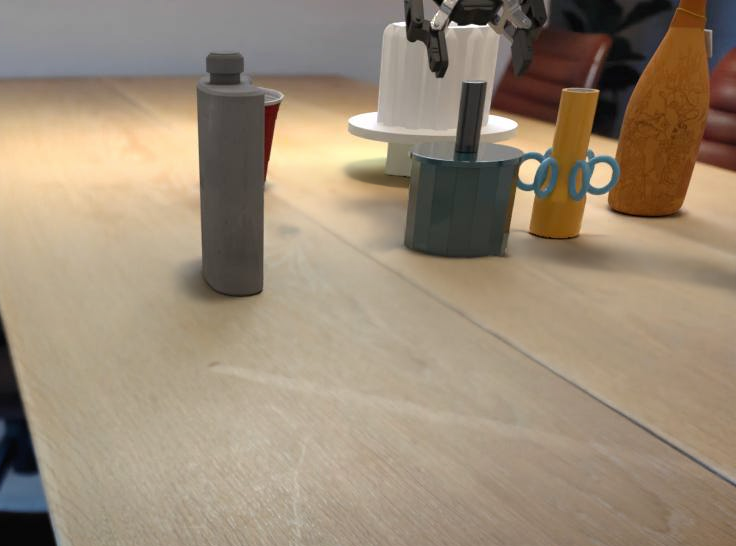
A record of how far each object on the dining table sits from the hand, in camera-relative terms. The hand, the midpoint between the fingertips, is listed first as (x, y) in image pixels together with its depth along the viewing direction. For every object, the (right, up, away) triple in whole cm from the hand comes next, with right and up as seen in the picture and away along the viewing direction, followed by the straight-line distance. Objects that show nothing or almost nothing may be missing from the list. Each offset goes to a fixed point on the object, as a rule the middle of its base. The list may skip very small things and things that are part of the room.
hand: (483, 71), depth 93 cm
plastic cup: (-25, +7, +39) cm, 47 cm away
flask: (-26, -20, +4) cm, 33 cm away
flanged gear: (+3, +14, +47) cm, 49 cm away
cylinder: (+13, -9, +18) cm, 24 cm away
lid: (0, -5, +6) cm, 8 cm away
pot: (0, -13, +12) cm, 18 cm away
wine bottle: (+28, -1, +28) cm, 39 cm away
